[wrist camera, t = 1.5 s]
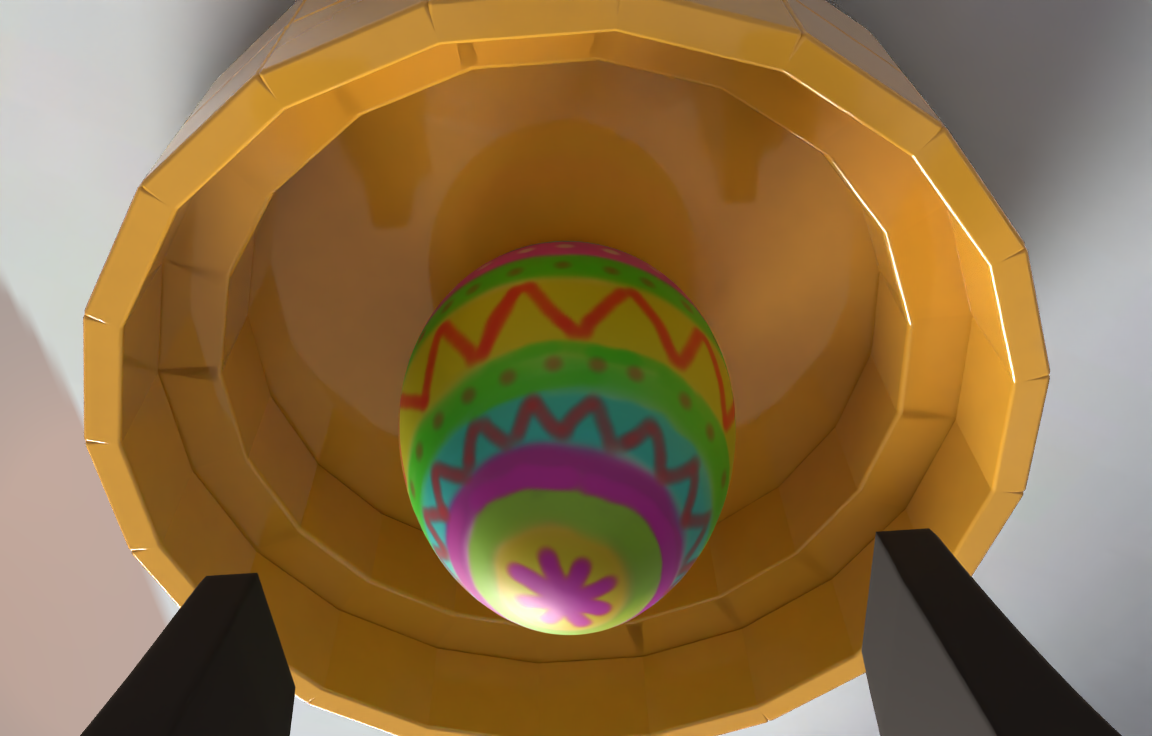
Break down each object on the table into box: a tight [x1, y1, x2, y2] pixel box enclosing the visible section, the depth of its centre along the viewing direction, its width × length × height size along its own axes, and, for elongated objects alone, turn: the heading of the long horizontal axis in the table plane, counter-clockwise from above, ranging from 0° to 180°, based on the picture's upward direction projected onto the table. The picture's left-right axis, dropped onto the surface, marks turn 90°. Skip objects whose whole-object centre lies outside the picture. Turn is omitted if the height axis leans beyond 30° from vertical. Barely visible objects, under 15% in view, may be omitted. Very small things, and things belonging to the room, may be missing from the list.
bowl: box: [83, 0, 1050, 736], centre depth 17 cm, size 13×13×4 cm
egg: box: [399, 241, 736, 635], centre depth 15 cm, size 5×5×6 cm
